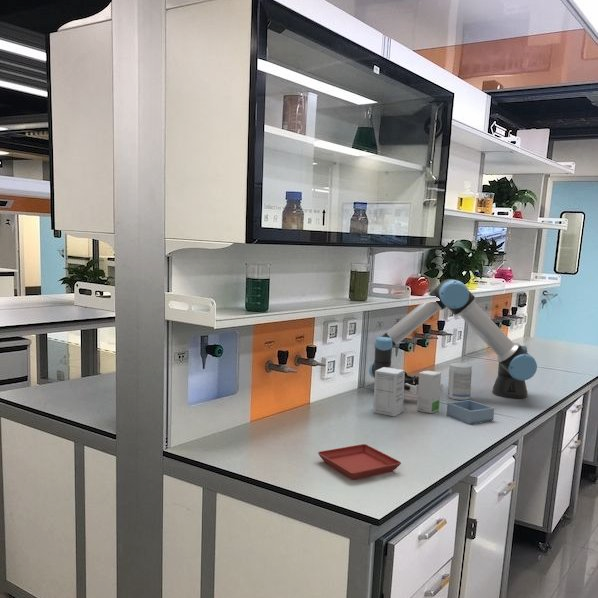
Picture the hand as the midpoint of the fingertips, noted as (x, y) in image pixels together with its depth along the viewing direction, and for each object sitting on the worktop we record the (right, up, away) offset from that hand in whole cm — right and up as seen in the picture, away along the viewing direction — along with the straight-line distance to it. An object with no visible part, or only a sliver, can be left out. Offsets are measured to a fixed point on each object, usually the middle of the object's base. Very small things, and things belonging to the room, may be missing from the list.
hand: (429, 389), depth 232 cm
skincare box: (0, -9, +2) cm, 9 cm away
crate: (+14, -10, -7) cm, 19 cm away
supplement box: (-17, -9, -3) cm, 20 cm away
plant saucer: (-35, -14, -61) cm, 72 cm away
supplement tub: (+18, -8, +23) cm, 31 cm away
